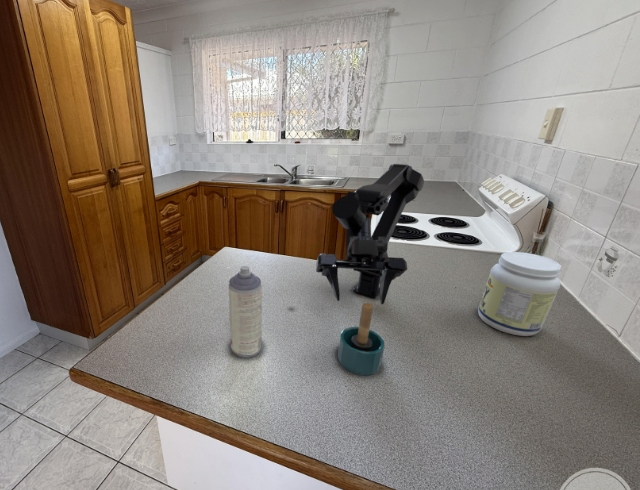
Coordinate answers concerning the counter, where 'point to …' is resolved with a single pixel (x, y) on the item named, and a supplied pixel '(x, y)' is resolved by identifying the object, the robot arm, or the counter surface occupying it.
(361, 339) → the brush
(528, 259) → the supplement tub
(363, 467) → the counter surface
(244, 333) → the aerosol can
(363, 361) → the teal cup
